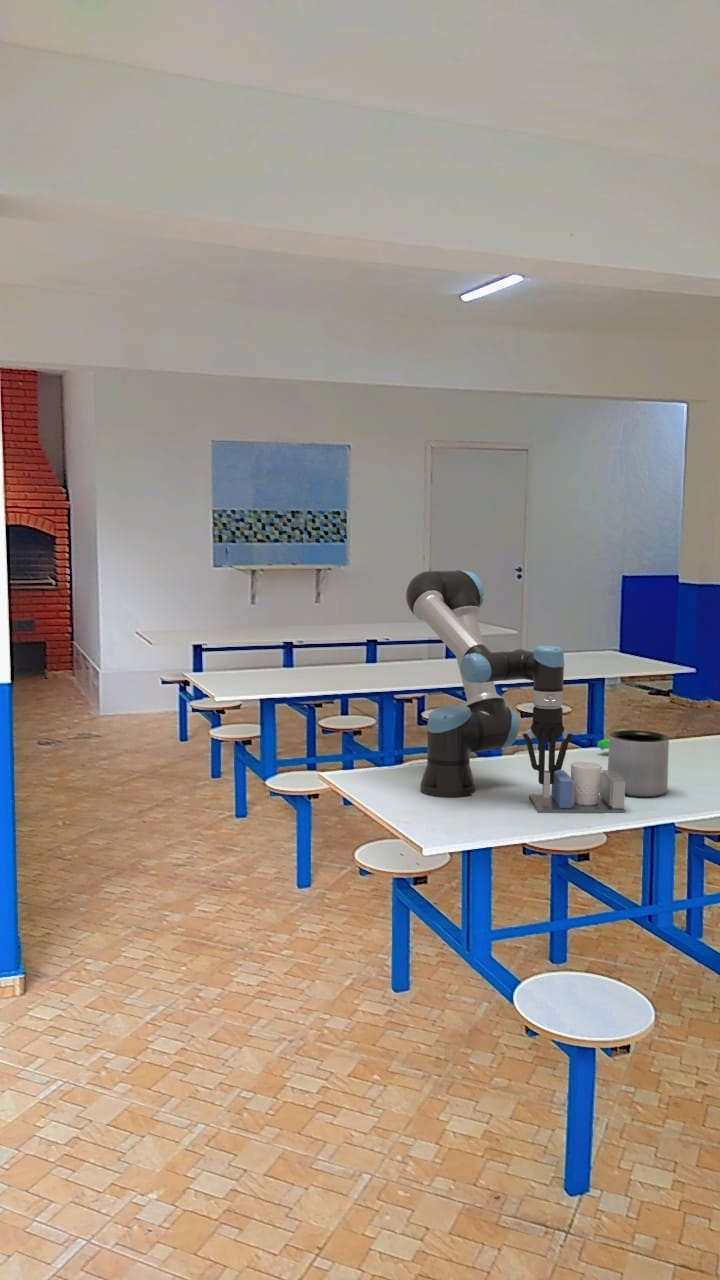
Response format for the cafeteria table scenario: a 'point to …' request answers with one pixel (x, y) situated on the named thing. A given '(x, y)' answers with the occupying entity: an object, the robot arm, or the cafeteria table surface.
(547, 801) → the vise bed
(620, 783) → the fixed jaw
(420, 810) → the cafeteria table surface
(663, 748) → the planter
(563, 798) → the sliding jaw
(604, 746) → the toy car
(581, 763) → the white cup
